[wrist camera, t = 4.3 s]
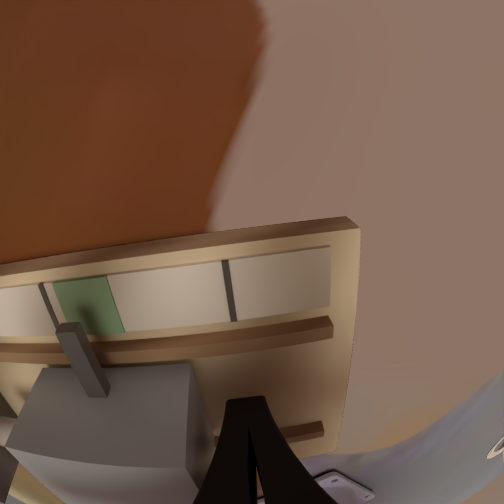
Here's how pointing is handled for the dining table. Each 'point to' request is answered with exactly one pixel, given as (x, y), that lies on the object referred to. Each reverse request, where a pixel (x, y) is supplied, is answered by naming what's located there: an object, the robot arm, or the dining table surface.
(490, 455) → the teacup and saucer
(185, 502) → the gauge carriage
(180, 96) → the dining table surface
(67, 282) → the scale board
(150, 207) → the dining table surface
